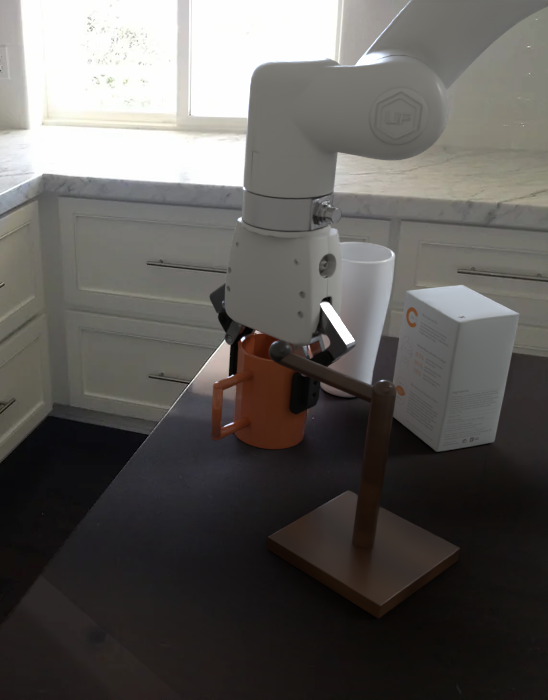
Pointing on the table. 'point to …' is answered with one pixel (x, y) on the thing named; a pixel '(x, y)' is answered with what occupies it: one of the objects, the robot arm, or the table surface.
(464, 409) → the small box
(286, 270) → the robot arm
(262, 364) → the mug
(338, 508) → the mug stand
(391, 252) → the drinking glass
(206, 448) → the table surface
